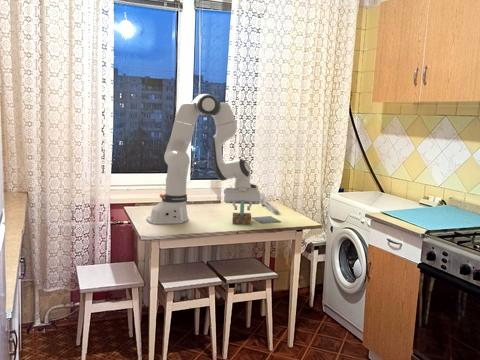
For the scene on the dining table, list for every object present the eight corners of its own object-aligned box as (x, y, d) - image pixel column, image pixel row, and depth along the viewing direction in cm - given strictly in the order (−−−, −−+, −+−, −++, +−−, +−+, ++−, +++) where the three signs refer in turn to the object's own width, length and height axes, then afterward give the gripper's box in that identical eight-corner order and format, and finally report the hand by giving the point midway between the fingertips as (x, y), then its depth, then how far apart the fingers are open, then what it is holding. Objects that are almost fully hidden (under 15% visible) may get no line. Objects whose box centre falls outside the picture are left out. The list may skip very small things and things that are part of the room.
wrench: (275, 219, 275) (258, 203, 302) (278, 219, 276) (260, 203, 303) (276, 206, 273) (259, 191, 300) (279, 206, 273) (261, 191, 301)
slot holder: (232, 224, 249) (232, 216, 248) (232, 219, 259) (232, 212, 258) (251, 224, 249) (251, 217, 249) (250, 220, 259) (250, 213, 259)
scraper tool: (239, 222, 253) (240, 201, 251) (239, 221, 256) (240, 200, 254) (243, 222, 253) (244, 201, 251) (243, 221, 256) (244, 200, 254)
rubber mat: (261, 223, 252) (261, 222, 252) (251, 218, 263) (251, 217, 263) (280, 222, 257) (280, 221, 257) (270, 217, 268) (270, 216, 268)
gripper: (224, 184, 258) (223, 205, 250) (260, 186, 258) (261, 207, 250) (223, 191, 263) (222, 211, 255) (259, 192, 263) (260, 213, 255)
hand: (242, 209), depth 252 cm, fingers open, 5 cm apart
